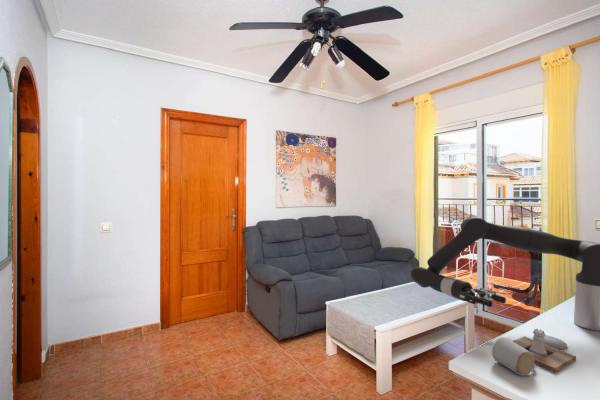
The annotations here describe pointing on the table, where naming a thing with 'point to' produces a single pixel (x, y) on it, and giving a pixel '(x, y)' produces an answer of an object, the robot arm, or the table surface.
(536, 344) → the rook chess piece
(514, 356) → the ceramic mug
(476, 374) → the table surface
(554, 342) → the slate-grey pad
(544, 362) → the walnut frame
